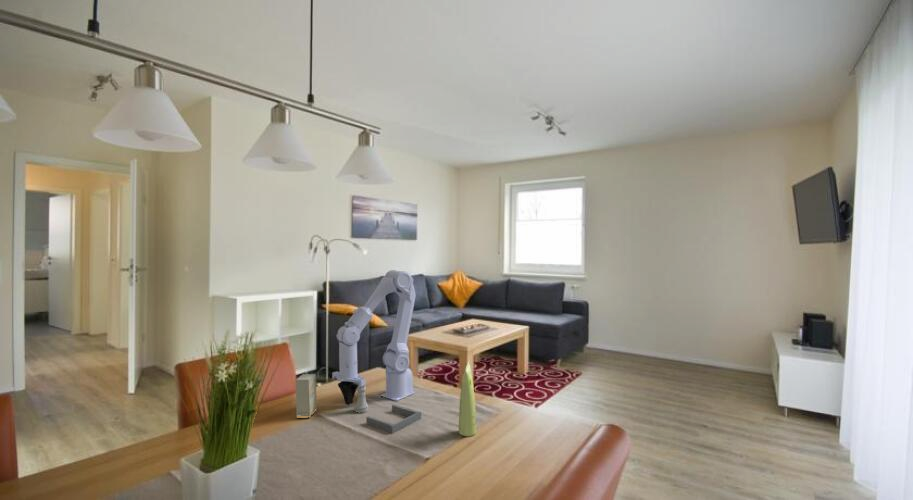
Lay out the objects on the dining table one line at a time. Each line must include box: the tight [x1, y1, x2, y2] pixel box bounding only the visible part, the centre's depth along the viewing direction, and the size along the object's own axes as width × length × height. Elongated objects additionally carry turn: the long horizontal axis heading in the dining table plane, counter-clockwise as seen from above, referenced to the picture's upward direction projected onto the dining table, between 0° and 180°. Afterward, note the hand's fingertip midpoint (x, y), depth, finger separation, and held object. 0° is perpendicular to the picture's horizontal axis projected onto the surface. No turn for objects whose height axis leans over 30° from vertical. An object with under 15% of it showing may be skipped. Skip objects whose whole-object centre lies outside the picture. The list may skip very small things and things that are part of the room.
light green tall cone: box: [458, 360, 477, 437], centre depth 118 cm, size 6×5×20 cm
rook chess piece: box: [354, 385, 370, 413], centre depth 135 cm, size 4×4×8 cm
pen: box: [365, 404, 422, 434], centre depth 127 cm, size 12×11×2 cm
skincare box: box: [295, 373, 318, 416], centre depth 132 cm, size 6×4×12 cm
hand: (349, 403), depth 139 cm, fingers closed
